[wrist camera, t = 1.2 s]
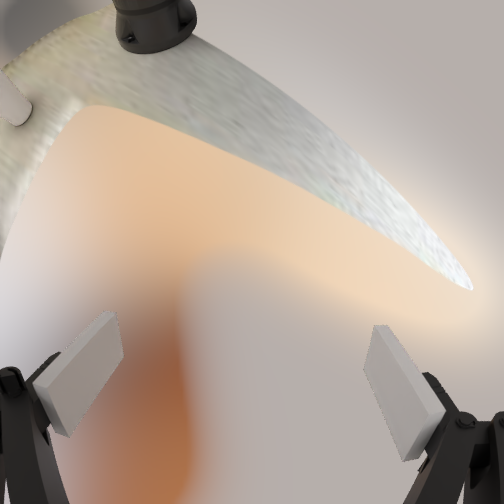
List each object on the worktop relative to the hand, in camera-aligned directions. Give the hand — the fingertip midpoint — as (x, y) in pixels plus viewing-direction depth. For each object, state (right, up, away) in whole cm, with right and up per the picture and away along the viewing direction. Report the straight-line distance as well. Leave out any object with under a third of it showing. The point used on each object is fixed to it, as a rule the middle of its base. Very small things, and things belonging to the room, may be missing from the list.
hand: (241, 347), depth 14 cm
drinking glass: (-43, +30, +26) cm, 58 cm away
